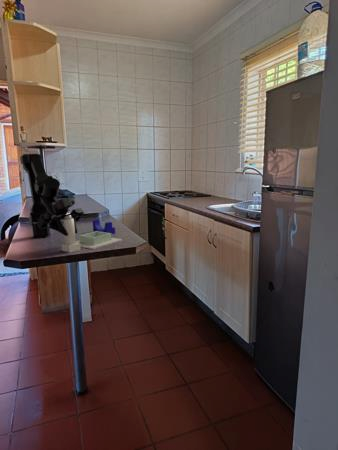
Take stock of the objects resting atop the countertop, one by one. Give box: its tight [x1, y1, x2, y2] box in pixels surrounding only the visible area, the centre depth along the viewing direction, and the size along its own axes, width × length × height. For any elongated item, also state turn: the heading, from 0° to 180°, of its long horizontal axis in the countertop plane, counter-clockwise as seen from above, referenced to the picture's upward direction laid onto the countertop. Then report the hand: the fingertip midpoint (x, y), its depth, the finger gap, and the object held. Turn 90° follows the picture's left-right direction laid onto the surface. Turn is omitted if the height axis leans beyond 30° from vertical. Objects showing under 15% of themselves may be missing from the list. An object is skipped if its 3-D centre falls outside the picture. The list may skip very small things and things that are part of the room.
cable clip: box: [92, 219, 116, 235], centre depth 150 cm, size 12×4×6 cm, turn 47°
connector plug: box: [61, 216, 81, 253], centre depth 120 cm, size 5×5×14 cm
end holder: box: [76, 231, 123, 250], centre depth 131 cm, size 16×16×4 cm
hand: (72, 234), depth 119 cm, fingers closed on connector plug, 4 cm apart
